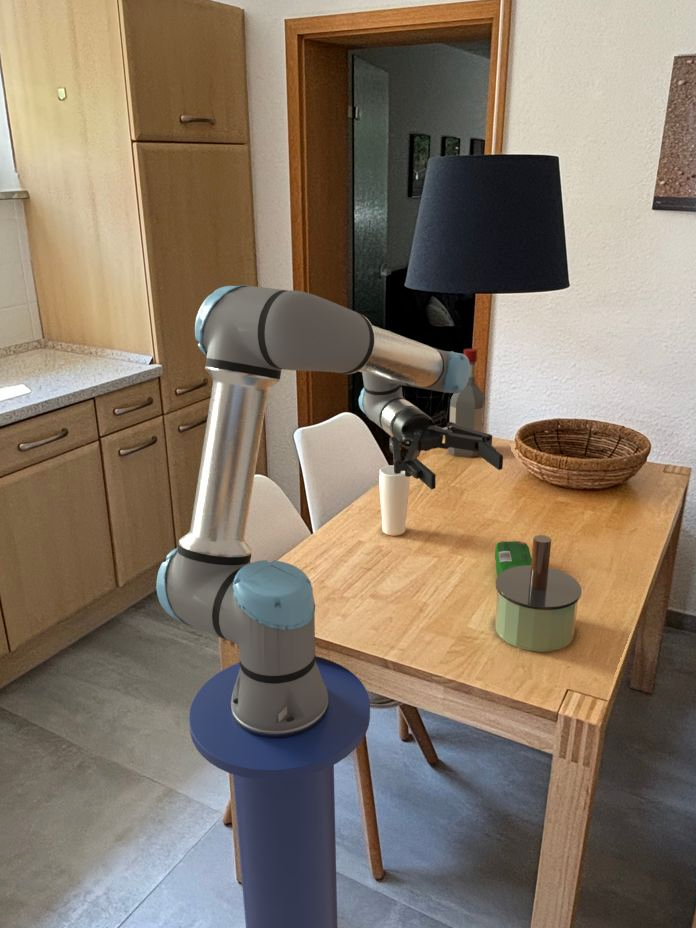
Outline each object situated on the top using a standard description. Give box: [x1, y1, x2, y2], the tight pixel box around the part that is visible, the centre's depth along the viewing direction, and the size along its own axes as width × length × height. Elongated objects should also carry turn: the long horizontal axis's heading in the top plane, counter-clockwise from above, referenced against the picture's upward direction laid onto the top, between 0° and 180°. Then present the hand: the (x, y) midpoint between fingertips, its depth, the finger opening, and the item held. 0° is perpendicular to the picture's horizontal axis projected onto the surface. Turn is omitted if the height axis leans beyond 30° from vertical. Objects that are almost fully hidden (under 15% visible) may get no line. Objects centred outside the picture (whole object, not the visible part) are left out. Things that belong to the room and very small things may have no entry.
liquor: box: [447, 348, 486, 458], centre depth 219 cm, size 9×9×30 cm
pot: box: [494, 590, 579, 653], centre depth 136 cm, size 14×14×8 cm
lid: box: [495, 534, 582, 610], centre depth 133 cm, size 15×15×10 cm
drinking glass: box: [378, 464, 411, 537], centre depth 173 cm, size 7×7×15 cm
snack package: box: [494, 540, 532, 578], centre depth 156 cm, size 7×16×5 cm, turn 173°
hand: (468, 472), depth 132 cm, fingers open, 13 cm apart
